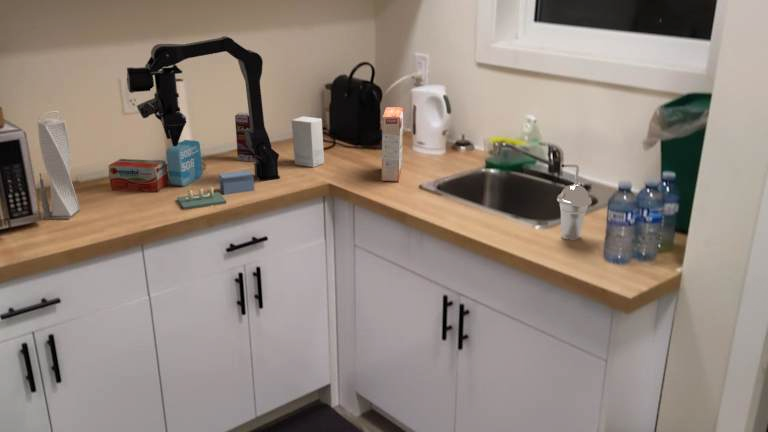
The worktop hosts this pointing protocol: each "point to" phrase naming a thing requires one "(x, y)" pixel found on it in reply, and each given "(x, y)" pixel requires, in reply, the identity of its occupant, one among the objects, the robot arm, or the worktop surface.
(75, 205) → the skyscraper
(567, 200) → the cup with straw
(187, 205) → the header board
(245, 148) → the supplement box
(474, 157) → the worktop surface
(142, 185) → the medicine box
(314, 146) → the skincare box
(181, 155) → the data package
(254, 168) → the robot arm
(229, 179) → the housing
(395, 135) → the cracker box
